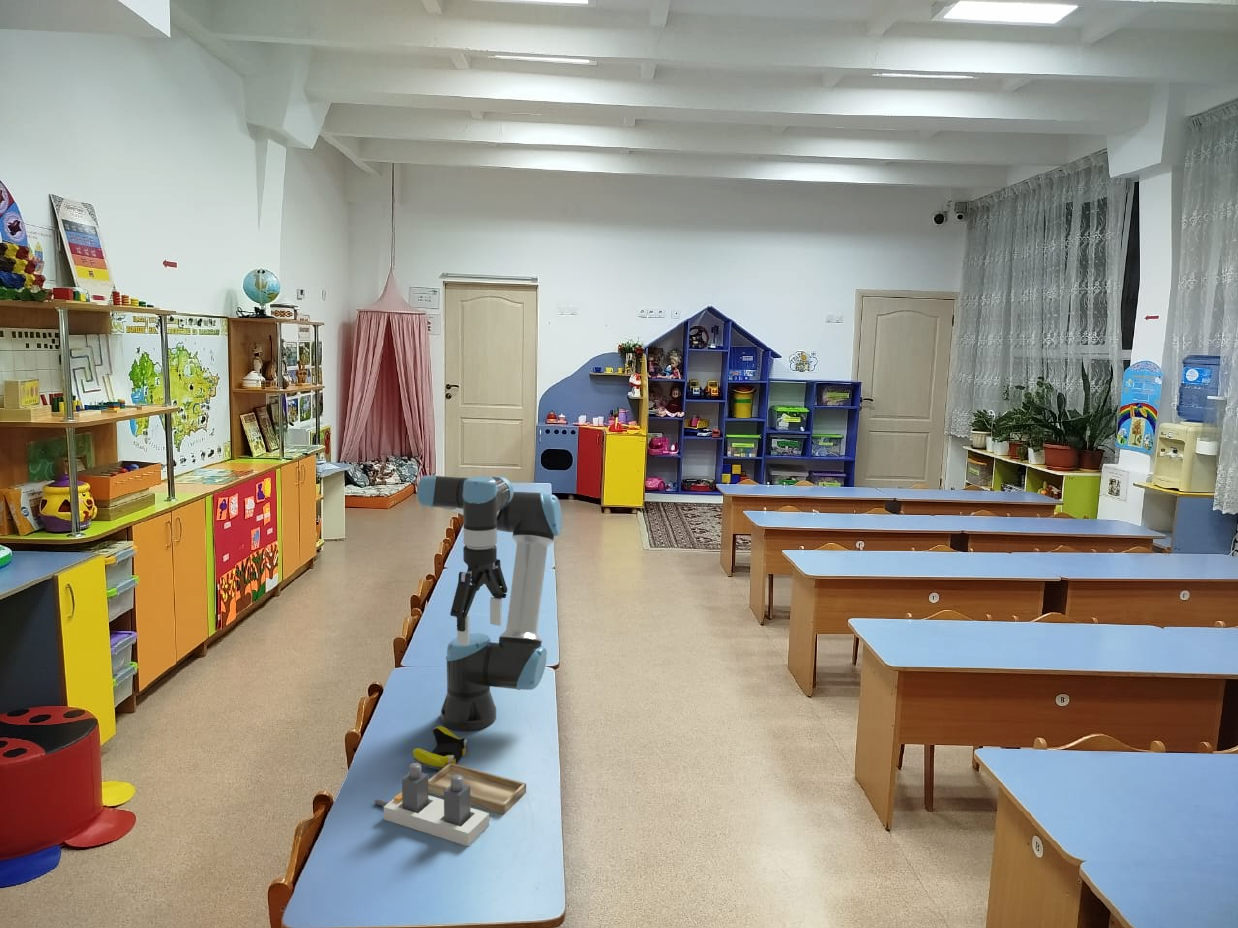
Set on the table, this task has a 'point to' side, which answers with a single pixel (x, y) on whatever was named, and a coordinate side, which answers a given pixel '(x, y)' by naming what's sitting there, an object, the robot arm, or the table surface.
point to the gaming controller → (441, 750)
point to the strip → (436, 820)
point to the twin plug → (415, 789)
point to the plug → (457, 802)
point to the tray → (480, 787)
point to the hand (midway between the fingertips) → (480, 633)
